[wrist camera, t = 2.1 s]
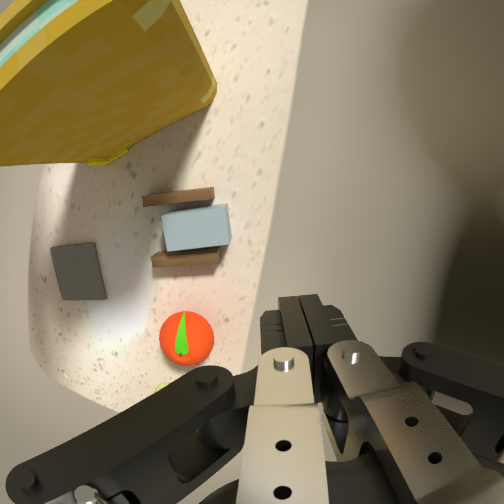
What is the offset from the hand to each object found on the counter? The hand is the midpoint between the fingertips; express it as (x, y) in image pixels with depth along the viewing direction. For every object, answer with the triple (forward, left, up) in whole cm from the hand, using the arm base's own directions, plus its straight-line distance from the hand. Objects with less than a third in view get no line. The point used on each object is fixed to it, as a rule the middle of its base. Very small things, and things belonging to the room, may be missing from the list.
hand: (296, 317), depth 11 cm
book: (-15, -13, -25) cm, 32 cm away
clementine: (+13, -11, -25) cm, 30 cm away
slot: (0, -10, -25) cm, 27 cm away
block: (0, -8, -25) cm, 26 cm away
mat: (+5, -27, -25) cm, 37 cm away
